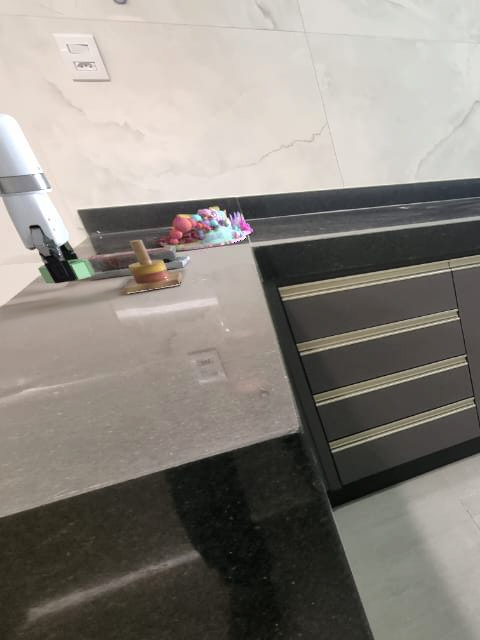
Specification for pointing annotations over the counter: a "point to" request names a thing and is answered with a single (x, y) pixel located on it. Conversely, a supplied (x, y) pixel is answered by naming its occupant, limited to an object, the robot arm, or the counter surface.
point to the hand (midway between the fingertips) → (70, 276)
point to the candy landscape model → (205, 230)
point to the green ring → (79, 267)
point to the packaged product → (132, 262)
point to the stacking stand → (149, 271)
